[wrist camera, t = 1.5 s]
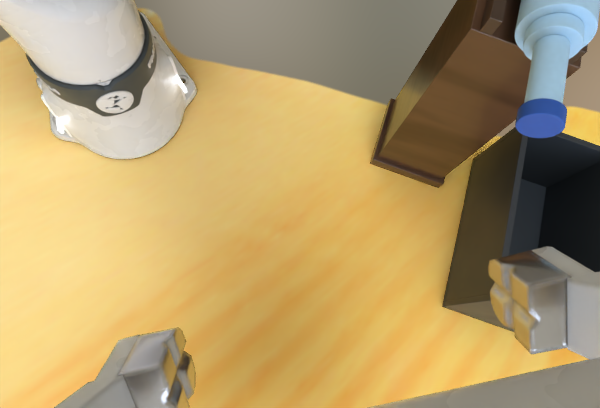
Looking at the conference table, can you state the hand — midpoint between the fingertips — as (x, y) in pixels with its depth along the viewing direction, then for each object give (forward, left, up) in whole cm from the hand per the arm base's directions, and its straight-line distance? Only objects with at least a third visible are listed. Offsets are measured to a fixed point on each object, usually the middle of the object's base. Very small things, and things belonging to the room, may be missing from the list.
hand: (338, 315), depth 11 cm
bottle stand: (-14, +28, -39) cm, 50 cm away
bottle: (-11, +25, -13) cm, 30 cm away
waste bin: (+3, +32, -39) cm, 51 cm away
